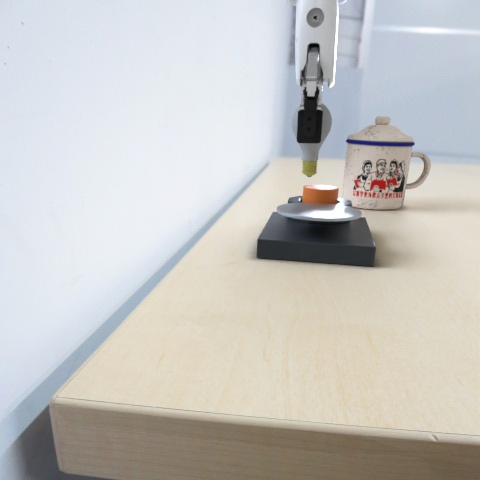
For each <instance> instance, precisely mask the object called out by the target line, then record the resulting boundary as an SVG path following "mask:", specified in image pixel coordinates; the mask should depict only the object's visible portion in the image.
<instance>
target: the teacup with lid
mask: <svg viewBox="0 0 480 480" xmlns="http://www.w3.org/2000/svg"><path fill="white" fill-rule="evenodd" d="M345 143H347V144H346V153H345V162H344V172H343V181H342V188H341V189H342V190H341V198H343V199H346V200H349V201H351V202H352V208H356V209H357V208H358V209H364V210H373V211H374V210H377V211H380V210H381V211H385V210H386V211H390V210H398V209H400V208H402V207H403V206H404V202H405V198H406V197H405V195H406V190H412V189H416V188H419V187H420V186H421V185H422V184H424V182H425V181H426V180H427V178H428V176H429V175H430V171H431V167H432V164H431V160H430V158H429V156H428V155H427V154H426V153H423V152H420V151H413V147H414V146H415V138H414V137H413V136H411V135H409V134H406V133H404V132H403V131H402V130H401V129H400V128H399V127H397V126H395V125H391V117H390V116H375V118H374V124H369V125H367V126H365V127H363V128H362V129H361V130H358V131H357V132H353V133H350V134H348V136H347V139H345ZM411 158H419V159H421V160H422V162H423V170H422V172H421V174H420V175H419V177H418V178H417V179H416V180H414V181H413V182H410V183H408V177H409V171H410V163H411V160H412V159H411Z"/></svg>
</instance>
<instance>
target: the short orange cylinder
mask: <svg viewBox="0 0 480 480" xmlns="http://www.w3.org/2000/svg"><path fill="white" fill-rule="evenodd" d="M339 190H340V188H339V186H336V185H329V184H328V185H327V184H305V185H303V187H302V196H303V198H302V202H313V203H329V204H337V201H338V198H339V192H340V191H339Z"/></svg>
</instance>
